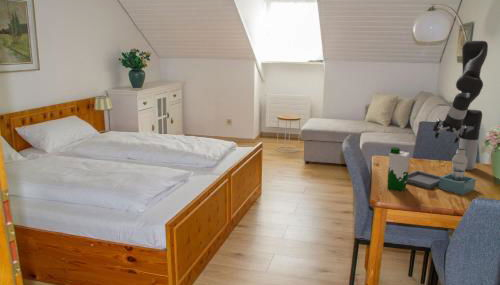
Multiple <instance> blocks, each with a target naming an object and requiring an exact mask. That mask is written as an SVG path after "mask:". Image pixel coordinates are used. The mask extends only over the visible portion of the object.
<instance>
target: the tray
mask: <svg viewBox="0 0 500 285" xmlns="http://www.w3.org/2000/svg"><path fill="white" fill-rule="evenodd" d="M440 177H442V175H441V176H440V175H436V174H433V173H429V172H425V171H422V170H417V169H416V170H414V171H411V172H408V179H407V184H410V185H413V186H417V187H419V188H422V189H423V188H424V189H427V190H431V189H434V188H436V187H439V179H440Z"/></svg>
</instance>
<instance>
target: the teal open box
mask: <svg viewBox="0 0 500 285" xmlns="http://www.w3.org/2000/svg"><path fill="white" fill-rule="evenodd" d="M451 176H452V172H449V173H447V174H445V175H443V176H442V175H441V177H440V179H439V185H438V189H441V190H442V191H443V190H444V191H447V192H451V193H454V194H458V195H461V196H463V195H466V194H468V193H470V192H472V191H474V190H475V188H476V187H475V186H476V181H477V179H476V178H474V177H470V176H467V175H464V181H465V182H464V183H461V182H458V181H454V180H450V179H451Z"/></svg>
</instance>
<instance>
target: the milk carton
mask: <svg viewBox="0 0 500 285" xmlns="http://www.w3.org/2000/svg"><path fill="white" fill-rule="evenodd" d="M400 150H401V148H400V147H395V146H394V147H391V148H390V153H389V154H388V155H389V156H388V158H389V159H388V169H387V190H391V191H392V190H393V191H398V192H404V190H405V188H406V187H407V184H408V183H407V179H408V173H409V168H410V153H411V152H406V151H404V150H403V151H400Z"/></svg>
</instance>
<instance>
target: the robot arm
mask: <svg viewBox="0 0 500 285" xmlns="http://www.w3.org/2000/svg"><path fill="white" fill-rule="evenodd" d="M488 45H489V44H488V42H487V41H485V40H467V41H465V42H464V43H463V45H462V47H461V58H462V61H461V62H462V64H461V65H462V74H461V75H460V76H459V77H458V79H457V81H456V82H455V87H456V90H458V91H460V93H457V94H455V97H454V99H453V101H452V103H451V105H450V107H449V109H448V112H447V114H446V115H445V118H444V120H441V119H440V118H437V119H436V122H435V123H434V125H433V128H432V131H434V132H435V134H434V138H435V139H438V138H439V135H440V133H441V132H444V131H446V132H450V133H454V134H455V137H454V140H453V144H456V143H459V144H458V149H459V148H460V149H465V154H464V155H465V156H466V158H467V164H466V168H465V171H466V170H467V171H472V170H475V168H476V161H477V153H478V147H479V146H478V145H479V138H480V130H481V125H482V120H483V112H482V110H479V109H469V108H470V105H471V104H472V102H473V101H474V100H475V99H476V98H477V97H478V96H479V95H480V93H481V92H482V89H483V87H484V83H483V80H482V78H481V72H482V71H481V70H482V67H483V66H484V62H485V61H486V58H487V55H488V49H489V46H488ZM440 125H441V126H440ZM439 126H440V127H439ZM468 127H471V129H470V130H468ZM460 129H461V131H462V132H460V131H459V130H460ZM458 141H459V142H458Z"/></svg>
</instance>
